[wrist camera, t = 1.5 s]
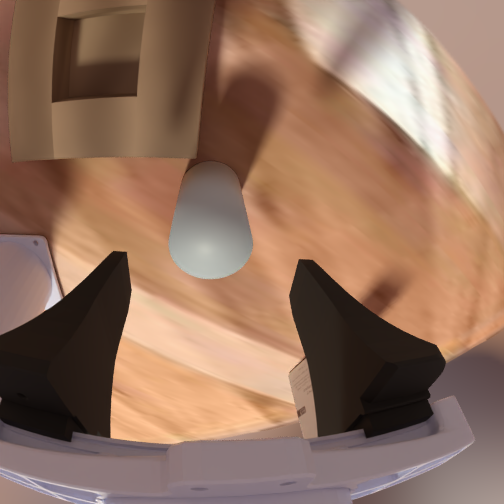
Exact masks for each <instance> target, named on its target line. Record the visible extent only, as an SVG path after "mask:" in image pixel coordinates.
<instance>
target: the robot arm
mask: <svg viewBox="0 0 504 504" xmlns="http://www.w3.org/2000/svg"><path fill="white" fill-rule="evenodd" d="M35 240H36V241H37V242H38V243H37V242H36V241H35ZM131 291H132V289H131V282H130V275H129V267H128V259H127V252H120V251H113V252H112V253H111V254H110V255H109V256H107V257H106V258H105V259H104V260H103V261H102V262H101V263H100V264H99V265H98V266H97V267H96V268H95V269H94V270H93V271H92V272H91V273H90V274H89V275H88V276H87V277H86V278H85V279H84V280H83V281H82V282H81V283H80V284H79V285H78V286H77V287H75V288H74V289H73V290H72V291H71V292H70V293H69V294H68V295H66V296H65V297H64V298H63V297H62V294H61V290H60V287H59V284H58V280H57V277H56V274H55V270H54V266H53V263H52V259H51V255H50V251H49V247H48V243H47V240H46V238H45V237H44V236H39V235H8V234H0V476H2V477H4V478H6V479H8V480H11V481H13V482H16V483H18V484H21V485H23V486H26V487H28V488H31V489H33V490H36V491H39V492H41V493H44V494H47V495H50V496H53V497H56V498H59V499H62V500H65V501H69V502H72V503H76V504H353V503H352V500H353V499H356V498H360V497H362V496H366V495H369V494H372V493H374V492H377V491H380V490H383V489H385V488H388V487H391V486H393V485H396V484H398V483H401V482H403V481H406V480H408V479H410V478H413V477H415V476H417V475H420V474H422V473H424V472H426V471H429V470H431V469H433V468H435V467H437V466H439V465H441V464H443V463H445V462H446V461H448V460H449V459H451V458H452V457H454V456H455V455H457V454H458V453H459V452H461V451H462V450H464V449H465V448H466V447H468V446H469V445H471V444H472V443H474V442H475V438H474V436H473V433H472V431H471V429H470V427H469V425H468V423H467V420H466V418H465V416H464V414H463V412H462V410H461V408H460V406H459V404H458V402H457V400H456V398H455V396H450V397H447V398H444V399H441V400H438V401H436V402H434V403H432V404H431V405H430V404H429V402H428V400H427V399H429V398H430V393H429V391H428V388H429V387H430V386H431V385H432V384H433V383H434V382H435V381H436V379H437V378H438V377H439V376H440V375H441V373H442V372H443V370H444V367H445V364H446V361H445V359H444V357H443V356H442V354H441V352H440V350H439V349H438V347H437V345H435V344H432V343H430V342H427V341H425V340H422V339H419V338H417V337H415V336H413V335H411V334H408V333H406V332H404V331H402V330H401V329H399V328H397V327H395V326H393V325H392V324H390V323H388V322H387V321H385V320H383V319H382V318H380V317H379V316H377V315H376V314H374V313H373V312H371V311H370V310H369V309H367V308H366V307H364V306H363V305H362V304H361V303H359V302H358V301H357V300H356V299H355V298H353V297H352V296H351V295H350V294H349V293H348V292H346V291H345V290H344V289H343V288H342V287H341V286H340V285H339V284H338V283H337V282H335V281H334V280H333V279H332V278H331V277H330V276H329V275H328V274H327V273H326V272H325V271H324V270H323V269H322V268H321V267H320V266H319V265H318V264H317V263H315V262H314V261H313V260H305V259H299V261H298V265H297V268H296V272H295V276H294V280H293V283H292V287H291V291H290V294H289V297H290V304H291V309H292V315H293V318H294V322H295V325H296V328H297V331H298V334H299V337H300V340H301V343H302V346H303V350H304V353H305V356H306V359H307V363H308V368H309V373H310V378H311V384H312V390H313V397H314V404H315V413H316V422H317V434H318V437H316V438H309V439H302V438H299V437H277V438H265V439H250V440H222V441H221V440H216V441H205V440H200V441H184V442H181V443H177V444H174V445H173V444H158V443H146V442H136V441H127V440H119V439H112V438H110V416H111V395H112V383H113V374H114V366H115V359H116V354H117V350H118V346H119V343H120V339H121V335H122V332H123V328H124V324H125V321H126V317H127V314H128V310H129V304H130V297H131ZM44 310H46V311H44ZM43 311H44V312H43Z"/></svg>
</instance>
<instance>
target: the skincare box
mask: <svg viewBox="0 0 504 504" xmlns="http://www.w3.org/2000/svg"><path fill="white" fill-rule="evenodd" d="M289 381H290V385H291V389H292V393H293V397H294V401H295V406H296V409H297V414H298V418H299V422H300V426H301V430H302V435H303V439H309V438H316V437H318V434H317V422H316V413H315V404H314V397H313V390H312V384H311V378H310V373H309V368H308V363H307V359H304V360H303V361H302V362H301V363H300V364H299V365H298V366H297V367H296V368H294V369H293V370H292V371H291V372H290V374H289Z"/></svg>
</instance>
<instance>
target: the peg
mask: <svg viewBox="0 0 504 504" xmlns="http://www.w3.org/2000/svg"><path fill="white" fill-rule="evenodd" d="M252 248H253V239H252V234H251V230H250V226H249V221H248V217H247V213H246V208H245V204H244V200H243V195H242V191H241V187H240V182H239V179H238V177H237V175H236V173H235V172H234V171H233V170H232V169H231V168H230V167H229V166H227V165H225V164H223V163H221V162H217V161H205V162H201V163H198V164H196V165H194V166H193V167H192V168H190V169H189V170H188V171H187V172H186V174H185V175H184V177H183V179H182V183H181V187H180V191H179V195H178V199H177V204H176V208H175V213H174V217H173V222H172V227H171V232H170V236H169V251H170V254H171V257H172V259H173V260H174V262H175V263H176V264H177V266H178V267H179V268H180V269H182V270H183V271H184V272H186V273H188V274H190V275H192V276H195V277H198V278H202V279H218V278H223V277H226V276H229V275H231V274H233V273H235V272H236V271H238V270H239V269H240V268H242V267H243V266H244V265H245V263H246V262H247V261H248V259H249V257H250V255H251V252H252Z"/></svg>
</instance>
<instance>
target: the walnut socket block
mask: <svg viewBox="0 0 504 504" xmlns="http://www.w3.org/2000/svg"><path fill="white" fill-rule="evenodd" d="M215 3H216V0H16V2H15V8H14V14H13V21H12V28H11V37H10V47H9V61H8V123H9V137H10V148H11V157H12V162H23V161H35V160H49V159H67V158H95V157H159V158H188V159H196V157H197V151H198V145H199V133H200V122H201V111H202V101H203V92H204V83H205V74H206V66H207V58H208V50H209V43H210V35H211V29H212V22H213V15H214V9H215Z"/></svg>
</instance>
